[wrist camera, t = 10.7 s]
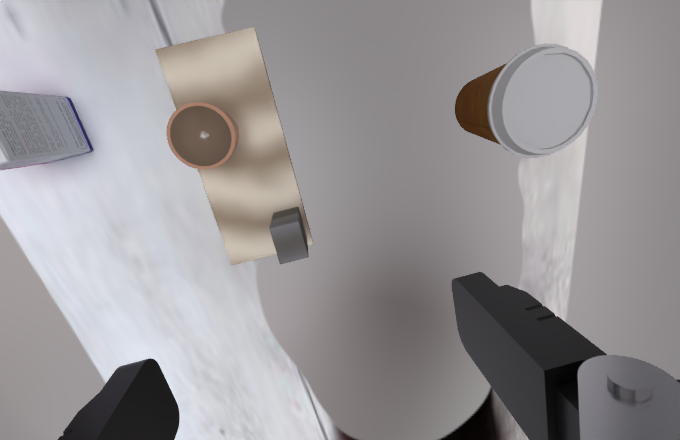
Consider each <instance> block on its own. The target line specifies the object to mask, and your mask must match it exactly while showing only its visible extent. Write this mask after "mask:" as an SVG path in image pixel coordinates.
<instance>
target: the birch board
mask: <svg viewBox="0 0 680 440" xmlns="http://www.w3.org/2000/svg"><path fill="white" fill-rule="evenodd" d="M155 51H156V53H157V56H158V59H159V62H160V65H161V67H162V70H163V73H164V76H165V79H166V82H167V84H168V87H169V90H170V93H171V96H172V98H173V101H174V104H175V107H176V110H177V109H178V108H180V107H181V106H183V105H185V104H189V103H194V102H201V103H208V104H211V105H214V106H216V107H218V108H220V109H221V110H223V111H224V112H225V113H227V114H228V115H230V116H231V117H232V118H233V120H234V121H235V123H236V124H237V127H238V130H239V141H238V144H237V146H236V148H235V150H234V152H233V154H232V155H231V157H230V158H229V159H228V160H227V161H226V162H224V163H223V164H221V165H220V166H218V167H215V168H212V169H198V171H199V174H200V177H201V180H202V183H203V185H204V188H205V191H206V194H207V197H208V199H209V202H210V205H211V208H212V211H213V213H214V216H215V219H216V222H217V225H218V227H219V230H220V233H221V236H222V239H223V242H224V244H225V247H226V250H227V253H228V256H229V258H230V261H231V264H232V265H235V264H239V263H243V262H247V261H251V260H255V259H258V258H262V257H266V256H269V255H274V254H277V256H278V259H279V262H280V264H284V263H287V262H291V261H295V260H299V259H303V258H307V257H308V246H309V245H313V240H312V236H311V233H310V229H309V225H308V222H307V218H306V214H305V211H304V207H303V204H302V199H301V196H300V192H299V188H298V185H297V181H296V177H295V174H294V170H293V166H292V163H291V159H290V155H289V152H288V148H287V144H286V141H285V137H284V133H283V129H282V126H281V122H280V119H279V115H278V111H277V107H276V104H275V100H274V96H273V93H272V90H271V85H270V82H269V78H268V74H267V71H266V67H265V63H264V60H263V56H262V52H261V49H260V45H259V41H258V38H257V34H256V30H255V28H254V27H252V28H248V29H244V30H239V31H235V32H231V33H226V34H222V35H217V36H213V37H208V38H204V39H200V40H195V41H191V42H187V43H182V44H178V45H174V46H169V47H165V48H161V49H156V50H155Z"/></svg>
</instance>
